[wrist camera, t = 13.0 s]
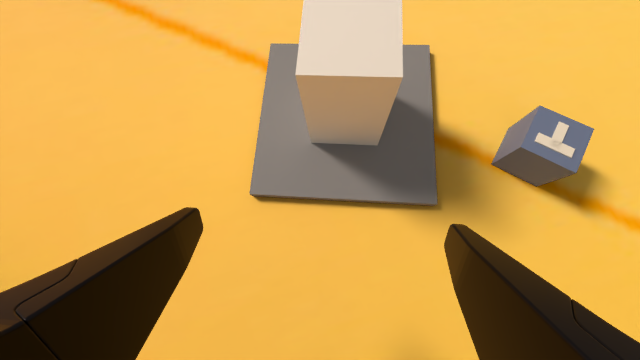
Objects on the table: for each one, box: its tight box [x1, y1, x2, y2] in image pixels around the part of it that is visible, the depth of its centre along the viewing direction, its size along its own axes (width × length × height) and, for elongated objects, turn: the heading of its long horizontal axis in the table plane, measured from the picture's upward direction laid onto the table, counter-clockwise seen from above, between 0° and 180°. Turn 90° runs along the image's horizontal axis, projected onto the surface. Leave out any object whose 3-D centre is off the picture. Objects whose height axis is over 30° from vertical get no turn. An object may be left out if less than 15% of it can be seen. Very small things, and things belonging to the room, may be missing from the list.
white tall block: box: [295, 0, 403, 146], centre depth 20 cm, size 6×6×10 cm
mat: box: [250, 44, 437, 206], centre depth 25 cm, size 16×16×1 cm
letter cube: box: [492, 106, 594, 187], centre depth 22 cm, size 4×4×4 cm
